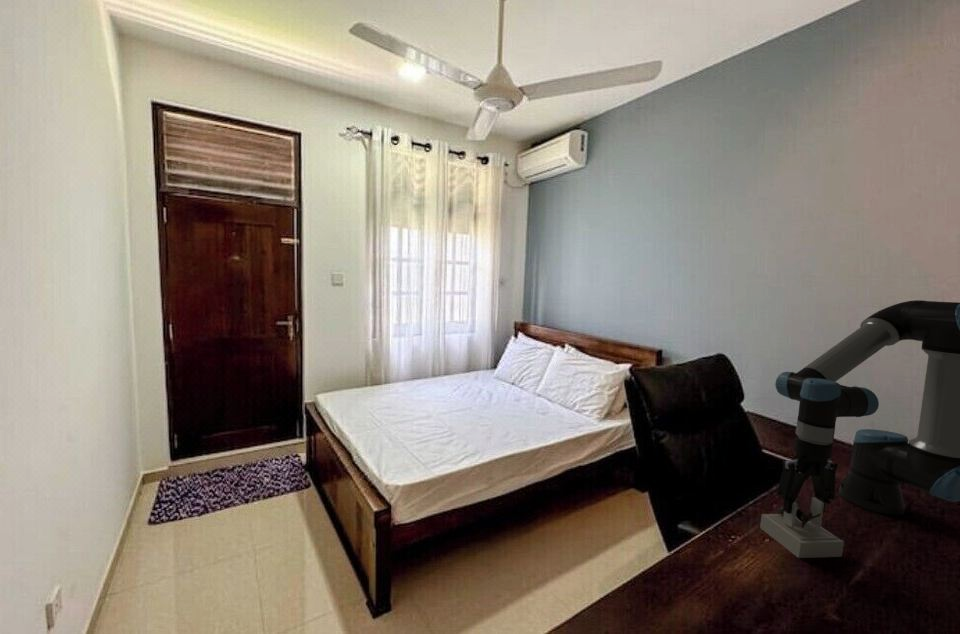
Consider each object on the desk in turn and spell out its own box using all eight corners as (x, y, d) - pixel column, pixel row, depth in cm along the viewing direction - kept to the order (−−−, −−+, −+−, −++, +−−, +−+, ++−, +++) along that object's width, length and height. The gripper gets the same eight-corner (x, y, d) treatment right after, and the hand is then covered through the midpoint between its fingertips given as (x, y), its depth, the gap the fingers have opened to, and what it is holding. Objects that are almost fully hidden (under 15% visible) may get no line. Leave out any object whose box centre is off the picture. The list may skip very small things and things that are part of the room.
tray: (799, 527, 113) (801, 512, 113) (841, 556, 102) (844, 540, 101) (759, 527, 112) (761, 513, 112) (798, 558, 100) (800, 541, 100)
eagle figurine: (826, 525, 105) (801, 500, 113) (817, 505, 103) (792, 481, 112) (797, 536, 106) (774, 511, 115) (788, 517, 104) (765, 492, 113)
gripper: (833, 433, 109) (822, 514, 111) (766, 433, 107) (755, 516, 109) (862, 445, 101) (849, 532, 104) (791, 445, 99) (779, 533, 101)
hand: (801, 523), depth 106 cm, fingers closed on eagle figurine, 7 cm apart
